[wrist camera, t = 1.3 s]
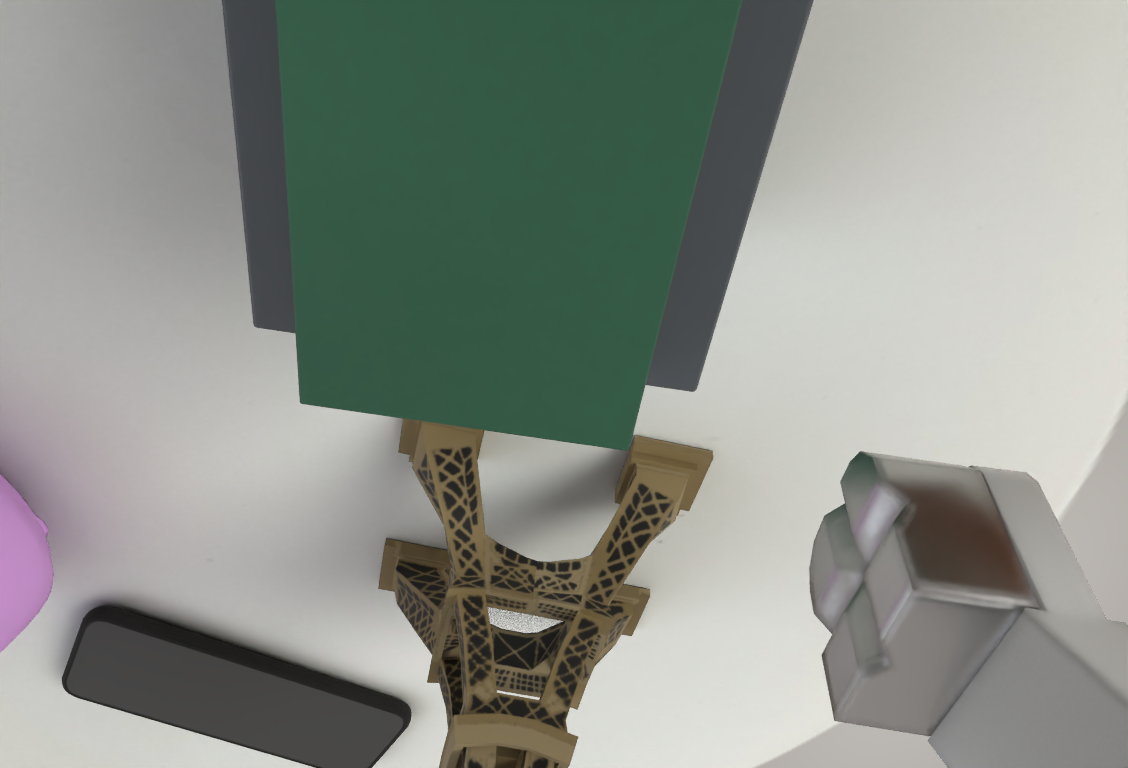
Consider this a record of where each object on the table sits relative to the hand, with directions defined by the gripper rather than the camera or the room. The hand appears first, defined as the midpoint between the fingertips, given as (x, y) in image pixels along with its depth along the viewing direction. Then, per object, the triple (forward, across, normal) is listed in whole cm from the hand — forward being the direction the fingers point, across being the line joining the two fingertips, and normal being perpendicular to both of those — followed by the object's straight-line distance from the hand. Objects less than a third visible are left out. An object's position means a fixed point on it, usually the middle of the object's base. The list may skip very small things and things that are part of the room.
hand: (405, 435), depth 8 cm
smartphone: (+18, +10, +34) cm, 39 cm away
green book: (+10, 0, 0) cm, 10 cm away
